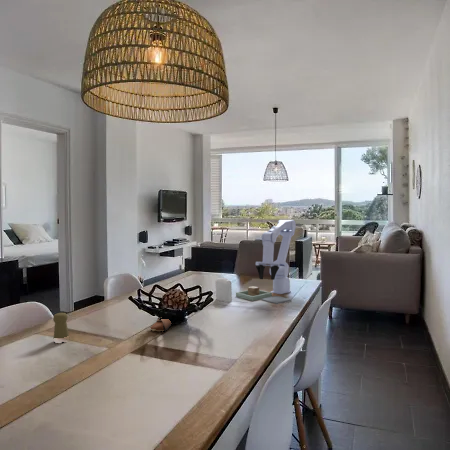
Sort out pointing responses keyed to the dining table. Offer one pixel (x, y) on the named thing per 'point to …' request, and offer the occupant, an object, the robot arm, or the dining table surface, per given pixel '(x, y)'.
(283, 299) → the slate mat
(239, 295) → the bin
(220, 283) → the white rounded block
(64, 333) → the cork
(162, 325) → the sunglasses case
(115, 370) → the dining table surface
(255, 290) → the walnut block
